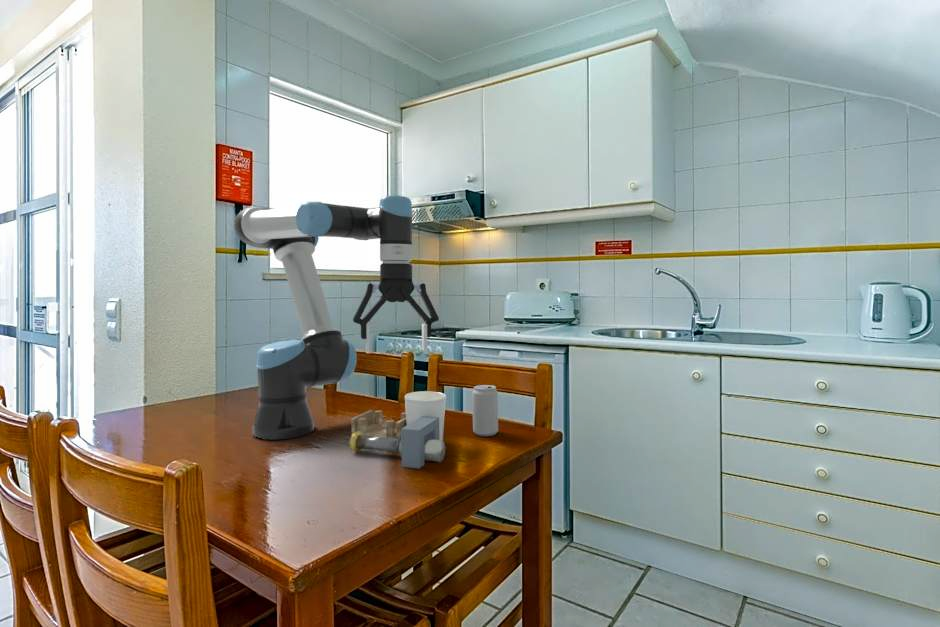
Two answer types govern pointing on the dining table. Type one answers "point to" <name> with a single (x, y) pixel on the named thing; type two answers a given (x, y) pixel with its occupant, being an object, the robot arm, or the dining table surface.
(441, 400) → the white cup
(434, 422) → the grey arch block
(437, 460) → the axle
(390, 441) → the drift plunger
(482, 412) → the beverage can
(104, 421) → the dining table surface
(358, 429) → the cradle
